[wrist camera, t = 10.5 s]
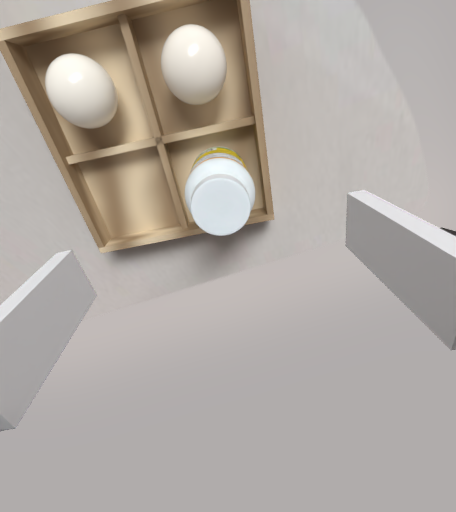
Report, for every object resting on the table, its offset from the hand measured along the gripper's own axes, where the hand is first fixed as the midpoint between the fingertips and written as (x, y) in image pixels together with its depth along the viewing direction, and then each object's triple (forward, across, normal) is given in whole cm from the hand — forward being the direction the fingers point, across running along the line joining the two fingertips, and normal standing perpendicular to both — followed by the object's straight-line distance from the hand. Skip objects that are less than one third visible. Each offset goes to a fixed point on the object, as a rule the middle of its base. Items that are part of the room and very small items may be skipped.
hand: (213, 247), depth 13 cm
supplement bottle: (+15, +1, 0) cm, 15 cm away
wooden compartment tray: (+16, -4, +4) cm, 17 cm away
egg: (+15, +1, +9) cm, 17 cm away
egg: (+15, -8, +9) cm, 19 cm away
